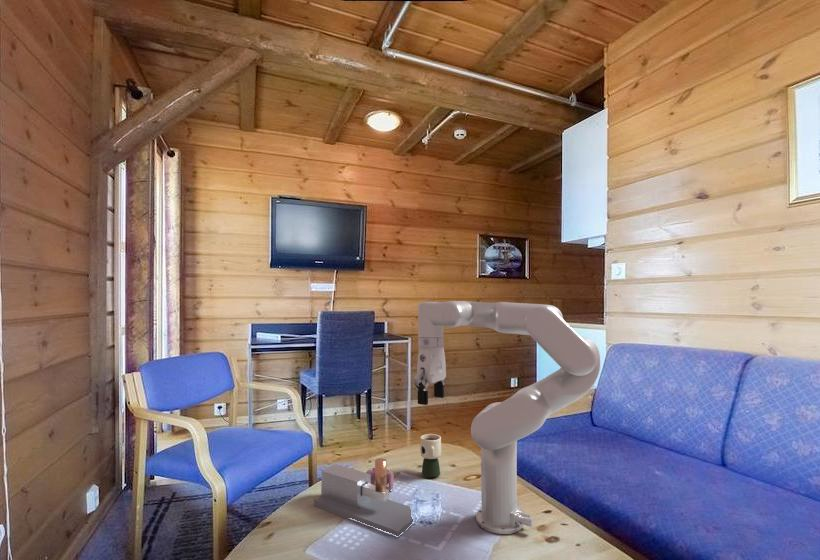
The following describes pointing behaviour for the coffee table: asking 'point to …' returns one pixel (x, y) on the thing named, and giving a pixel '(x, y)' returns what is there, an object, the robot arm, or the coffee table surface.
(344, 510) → the base board
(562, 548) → the coffee table surface
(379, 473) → the shaft
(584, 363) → the robot arm
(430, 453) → the character mug
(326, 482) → the block
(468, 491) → the coffee table surface
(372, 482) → the video game controller
